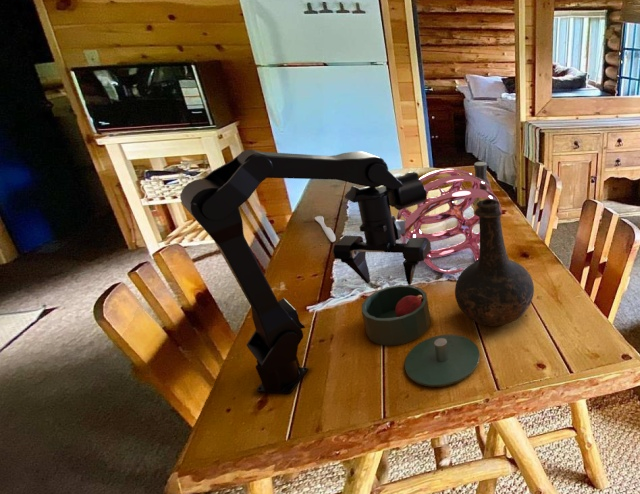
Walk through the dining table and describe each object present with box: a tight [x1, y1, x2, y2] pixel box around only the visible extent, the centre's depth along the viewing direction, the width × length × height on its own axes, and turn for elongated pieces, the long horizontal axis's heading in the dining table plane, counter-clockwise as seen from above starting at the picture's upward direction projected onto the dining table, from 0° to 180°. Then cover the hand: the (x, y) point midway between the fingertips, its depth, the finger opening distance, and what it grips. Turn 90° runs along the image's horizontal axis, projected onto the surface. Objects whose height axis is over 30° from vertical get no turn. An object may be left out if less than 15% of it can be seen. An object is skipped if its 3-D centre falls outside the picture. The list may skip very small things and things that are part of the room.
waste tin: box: [361, 284, 431, 347], centre depth 97 cm, size 14×14×6 cm
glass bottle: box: [454, 199, 535, 327], centre depth 96 cm, size 18×18×28 cm
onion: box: [395, 295, 423, 317], centre depth 97 cm, size 6×6×8 cm
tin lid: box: [404, 334, 481, 388], centre depth 87 cm, size 15×15×5 cm
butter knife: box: [313, 215, 337, 243], centre depth 144 cm, size 1×24×3 cm
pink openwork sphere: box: [396, 168, 503, 275], centre depth 118 cm, size 28×28×27 cm
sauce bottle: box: [472, 161, 492, 216], centre depth 147 cm, size 7×6×20 cm
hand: (389, 283), depth 94 cm, fingers open, 9 cm apart
